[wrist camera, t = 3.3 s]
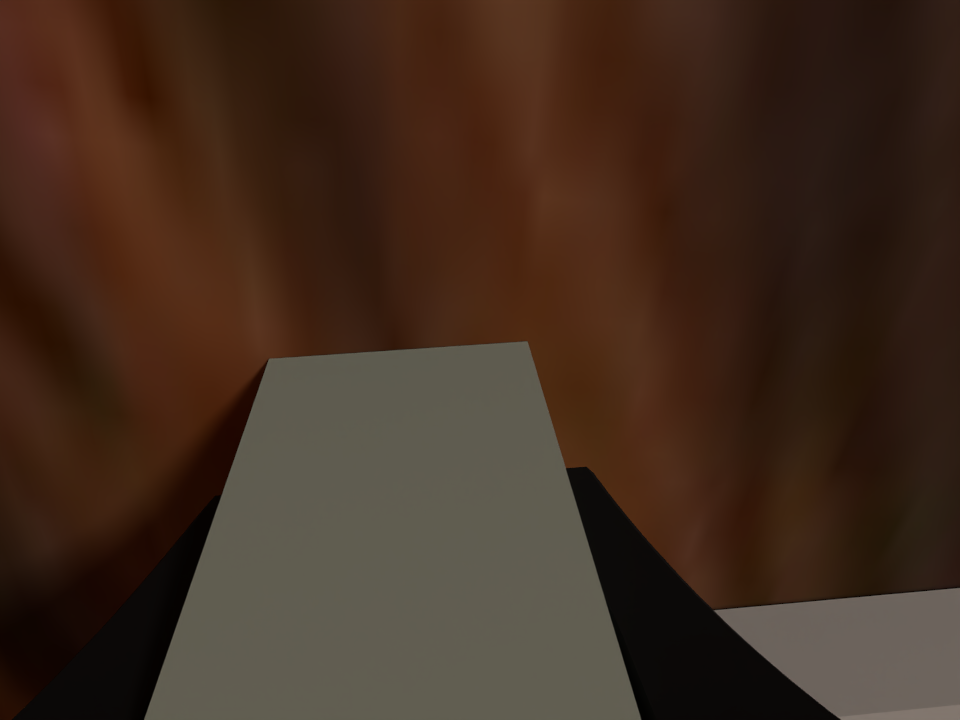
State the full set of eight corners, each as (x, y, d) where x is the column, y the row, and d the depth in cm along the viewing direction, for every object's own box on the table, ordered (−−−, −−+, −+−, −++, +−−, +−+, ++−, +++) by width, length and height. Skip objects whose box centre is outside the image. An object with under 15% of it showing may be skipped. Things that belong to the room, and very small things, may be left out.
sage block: (527, 341, 11) (664, 793, 5) (527, 532, 13) (625, 1021, 7) (268, 359, 11) (96, 852, 5) (307, 551, 13) (218, 1071, 7)
